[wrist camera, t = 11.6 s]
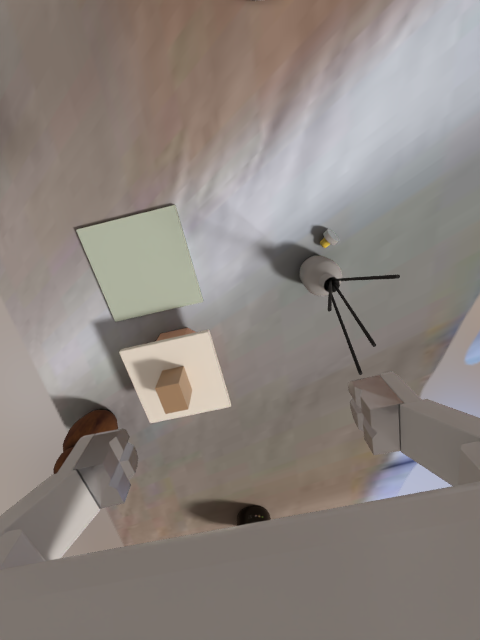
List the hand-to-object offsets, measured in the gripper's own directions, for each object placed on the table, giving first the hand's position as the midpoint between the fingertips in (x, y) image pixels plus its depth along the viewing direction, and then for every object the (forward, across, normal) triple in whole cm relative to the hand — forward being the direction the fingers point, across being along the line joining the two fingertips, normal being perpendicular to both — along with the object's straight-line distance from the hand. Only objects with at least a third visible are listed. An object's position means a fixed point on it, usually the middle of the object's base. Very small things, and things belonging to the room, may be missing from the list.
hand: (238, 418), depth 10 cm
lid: (+26, +11, +13) cm, 31 cm away
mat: (+31, +12, -2) cm, 33 cm away
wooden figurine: (+31, +27, +20) cm, 46 cm away
